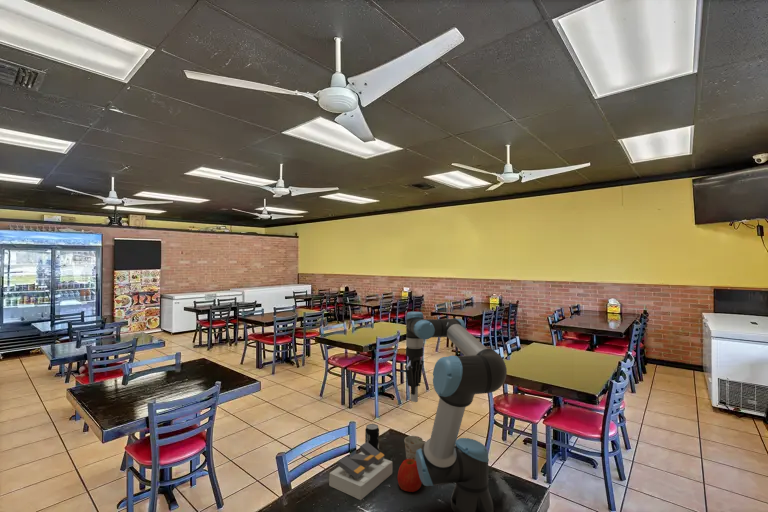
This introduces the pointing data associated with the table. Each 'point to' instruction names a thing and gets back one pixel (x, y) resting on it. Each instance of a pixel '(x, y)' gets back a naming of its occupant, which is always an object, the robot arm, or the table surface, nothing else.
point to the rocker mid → (363, 459)
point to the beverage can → (372, 435)
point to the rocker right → (372, 452)
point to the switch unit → (360, 479)
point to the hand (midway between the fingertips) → (414, 401)
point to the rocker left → (351, 467)
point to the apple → (409, 476)
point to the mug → (413, 446)
